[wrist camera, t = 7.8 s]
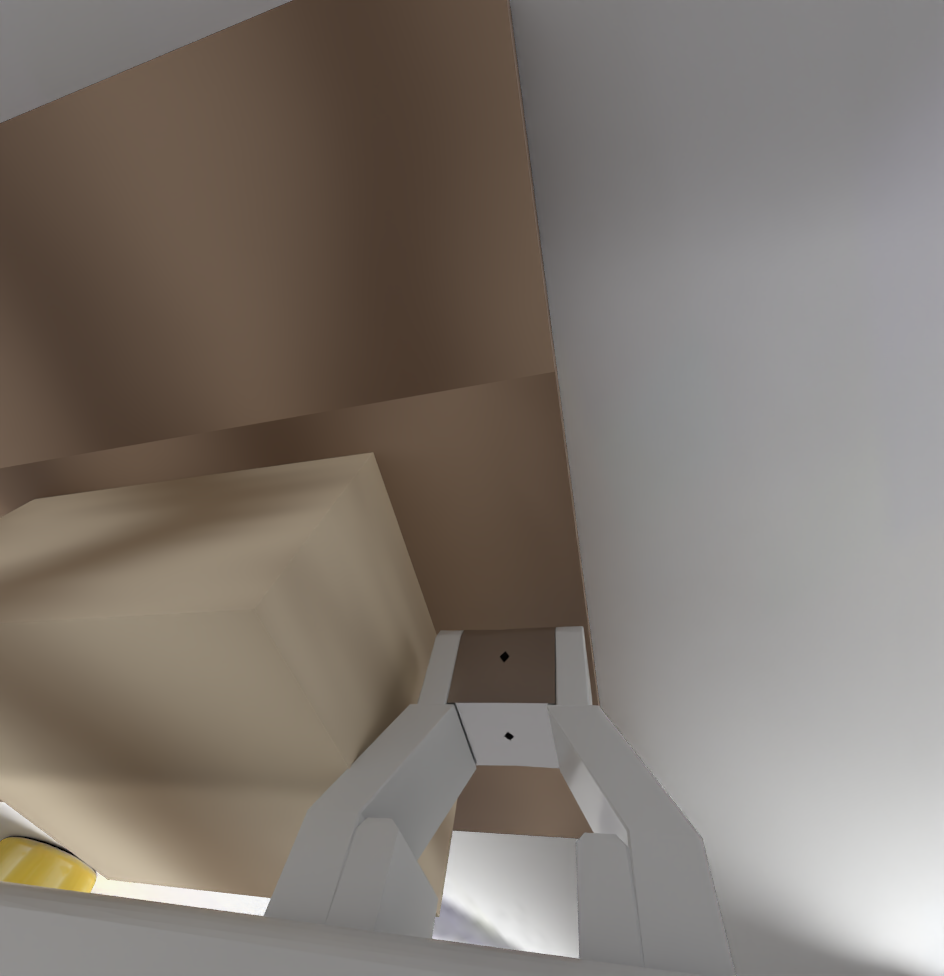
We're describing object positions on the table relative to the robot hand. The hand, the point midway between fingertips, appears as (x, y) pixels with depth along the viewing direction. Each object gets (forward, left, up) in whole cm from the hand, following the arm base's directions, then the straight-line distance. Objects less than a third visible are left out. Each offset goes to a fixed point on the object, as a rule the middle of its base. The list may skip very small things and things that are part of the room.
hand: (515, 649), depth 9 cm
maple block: (+6, 0, -1) cm, 6 cm away
